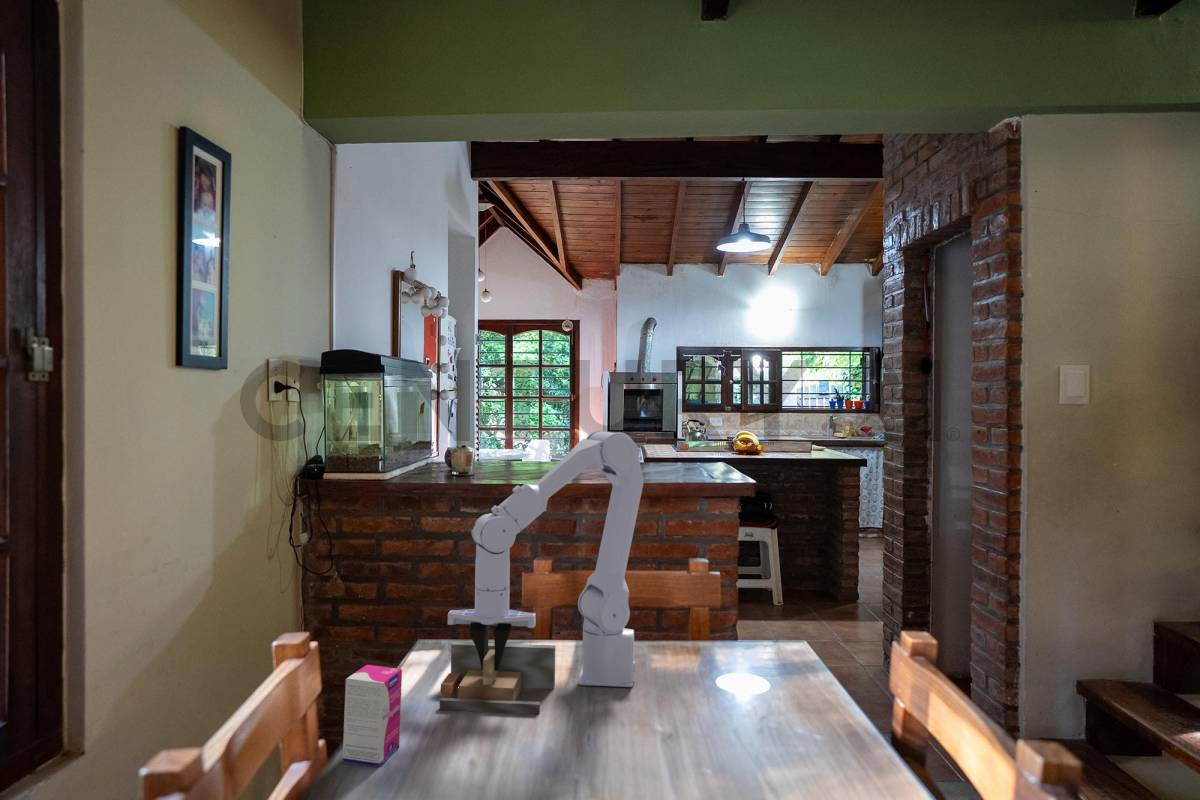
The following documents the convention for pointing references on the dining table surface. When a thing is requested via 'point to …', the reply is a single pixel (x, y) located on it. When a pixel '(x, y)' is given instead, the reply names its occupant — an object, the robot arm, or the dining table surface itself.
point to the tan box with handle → (490, 682)
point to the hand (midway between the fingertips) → (491, 668)
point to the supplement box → (372, 715)
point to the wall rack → (516, 658)
